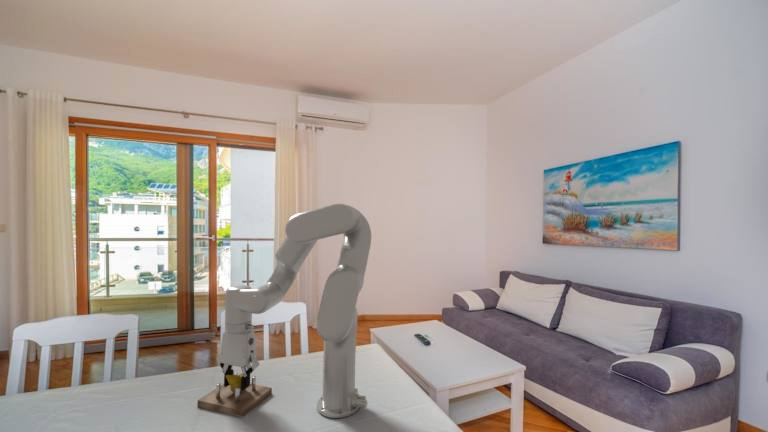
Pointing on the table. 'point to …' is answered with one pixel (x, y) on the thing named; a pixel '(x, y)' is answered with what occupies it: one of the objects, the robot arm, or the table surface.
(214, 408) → the peg board
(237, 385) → the olive yellow block
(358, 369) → the table surface
